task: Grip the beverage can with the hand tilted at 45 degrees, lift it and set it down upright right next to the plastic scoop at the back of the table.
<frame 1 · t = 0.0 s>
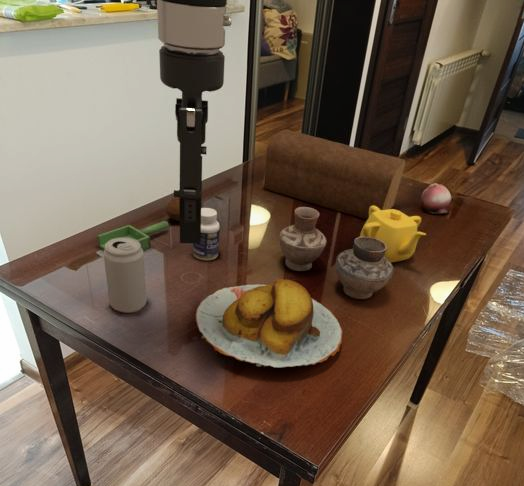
hand: (191, 219, 69), 21 cm above the table, tool pointing down, fingers open, 13 cm apart
scoop: (124, 247, 102), on the table
teapot: (385, 255, 111), on the table
pink peach: (432, 211, 133), on the table
food on plate: (267, 332, 85), on the table
beverage can: (128, 305, 87), on the table
pottery: (328, 279, 101), on the table
bread: (327, 198, 132), on the table
pill bottle: (205, 255, 103), on the table
potato: (185, 219, 115), on the table
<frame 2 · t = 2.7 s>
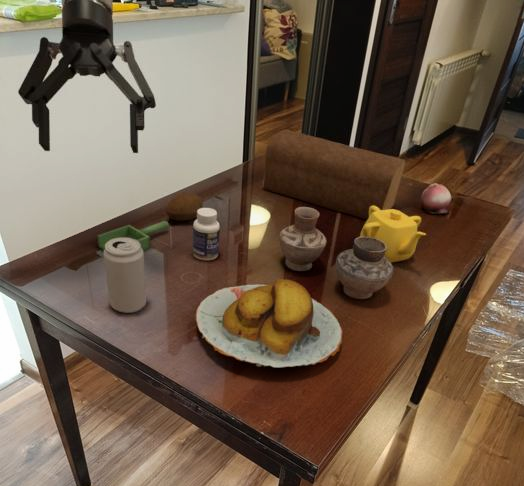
hand: (89, 148, 75), 25 cm above the table, tool tilted 40°, fingers open, 13 cm apart
nothing on the table moved.
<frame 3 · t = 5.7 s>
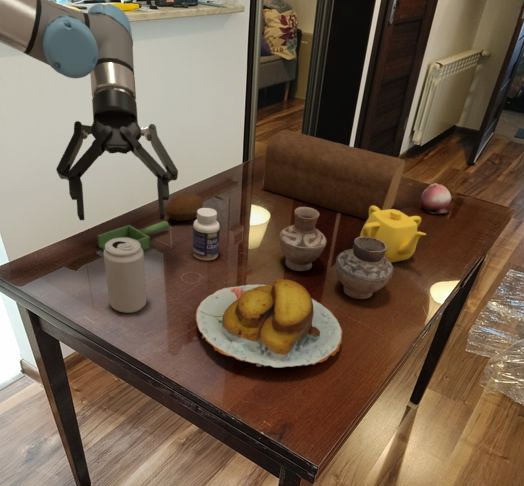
hand: (122, 217, 84), 13 cm above the table, tool tilted 45°, fingers open, 13 cm apart
nothing on the table moved.
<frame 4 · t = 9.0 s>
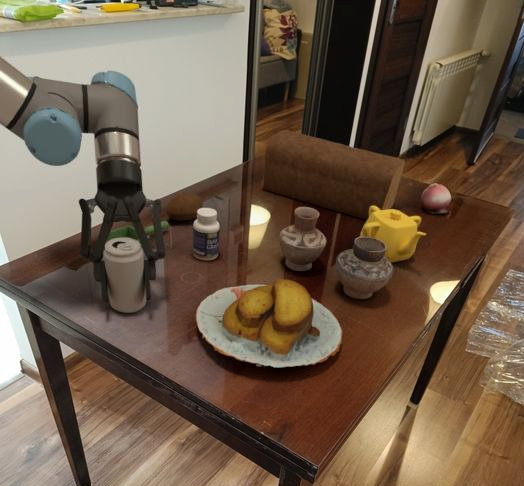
hand: (127, 299, 82), 4 cm above the table, tool tilted 45°, fingers closed on beverage can, 6 cm apart
beverage can: (128, 305, 87), on the table, touching gripper
everything else where it was.
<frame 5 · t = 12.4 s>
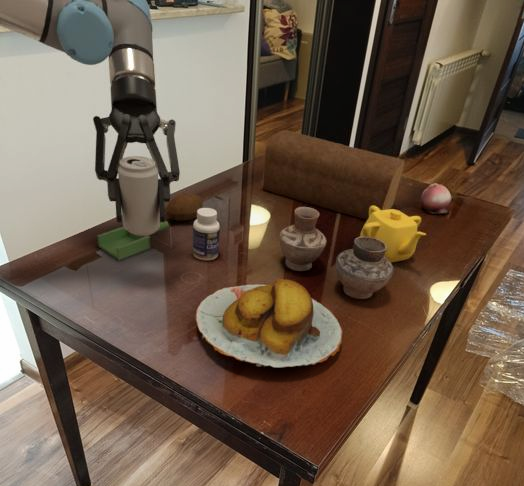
hand: (141, 219, 81), 14 cm above the table, tool tilted 45°, fingers closed on beverage can, 6 cm apart
beverage can: (142, 230, 87), point 11 cm above the table, touching gripper
everything else where it was.
when the fingers open (4 cm above the table, at t = 15.9 s): beverage can stays where it is, on the table.
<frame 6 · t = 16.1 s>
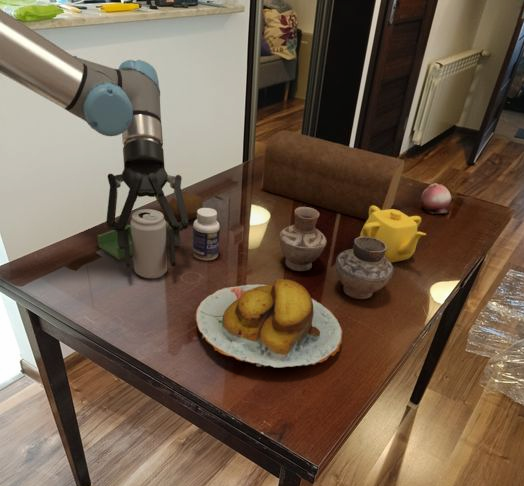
hand: (150, 265, 91), 4 cm above the table, tool tilted 45°, fingers open, 8 cm apart
beverage can: (151, 272, 96), on the table
everything else where it was.
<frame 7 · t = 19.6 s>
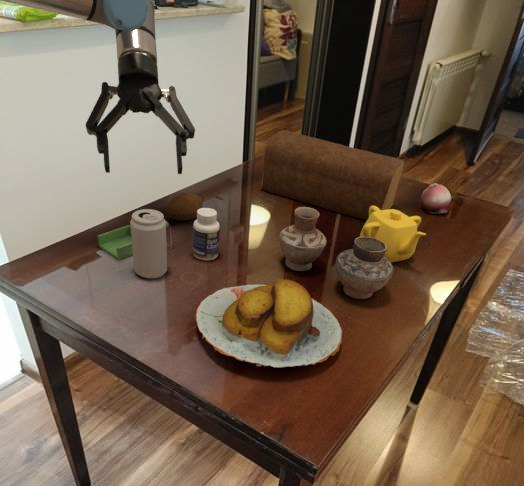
hand: (144, 170, 93), 16 cm above the table, tool tilted 45°, fingers open, 13 cm apart
nothing on the table moved.
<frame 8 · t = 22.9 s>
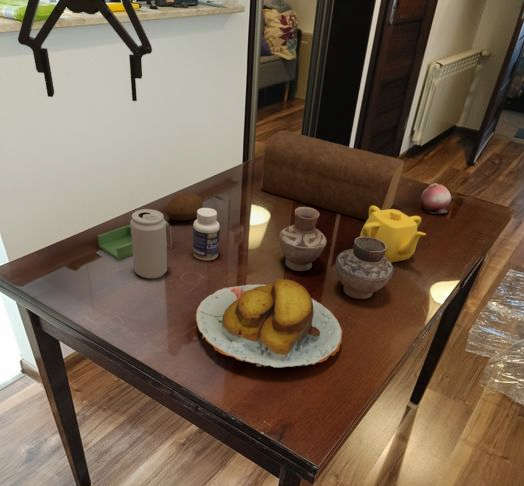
hand: (93, 97, 83), 29 cm above the table, tool pointing down, fingers open, 13 cm apart
nothing on the table moved.
at the end: beverage can inside the target area on the table beside the scoop (0.7 cm from its centre), on the table; beverage can tilted 0°; the gripper is holding nothing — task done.
